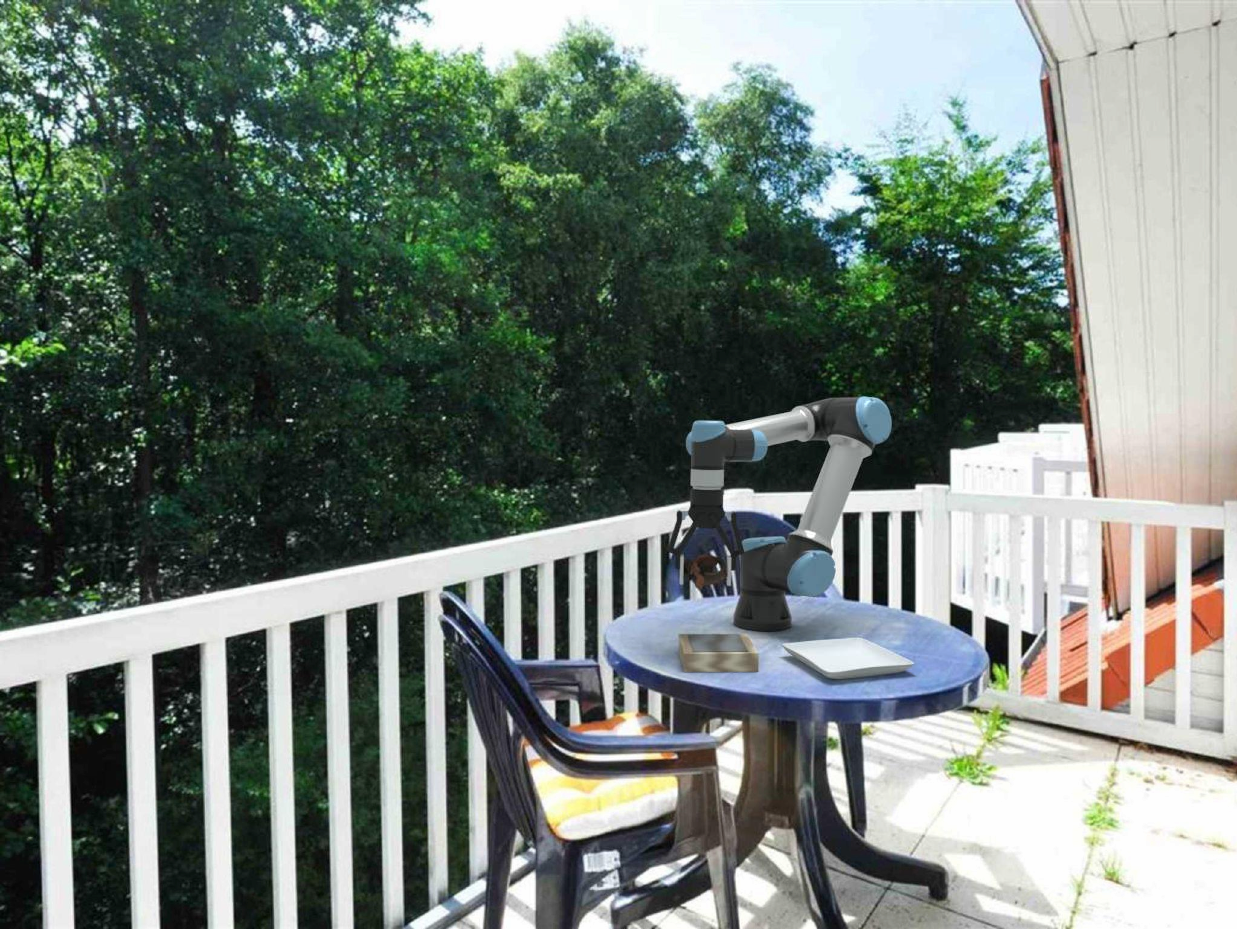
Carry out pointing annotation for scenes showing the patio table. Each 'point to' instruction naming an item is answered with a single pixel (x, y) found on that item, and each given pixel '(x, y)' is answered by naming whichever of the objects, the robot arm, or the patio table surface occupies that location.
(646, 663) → the patio table surface
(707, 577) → the pottery mug
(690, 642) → the wooden tray
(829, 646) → the salad plate
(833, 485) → the robot arm
